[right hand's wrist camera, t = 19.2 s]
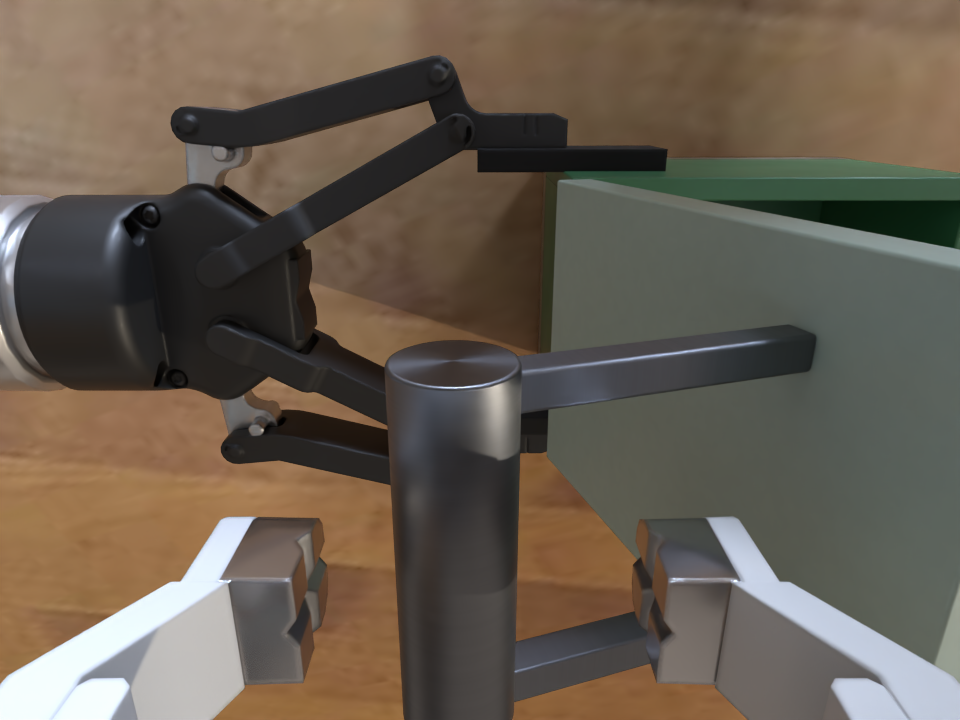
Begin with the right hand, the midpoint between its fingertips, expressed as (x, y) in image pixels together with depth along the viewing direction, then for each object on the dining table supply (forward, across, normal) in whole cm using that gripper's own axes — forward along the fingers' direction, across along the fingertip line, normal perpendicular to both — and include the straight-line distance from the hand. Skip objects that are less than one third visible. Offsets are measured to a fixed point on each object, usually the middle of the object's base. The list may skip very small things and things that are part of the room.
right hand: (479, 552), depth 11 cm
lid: (+6, +6, 0) cm, 8 cm away
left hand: (+16, +6, 0) cm, 17 cm away
